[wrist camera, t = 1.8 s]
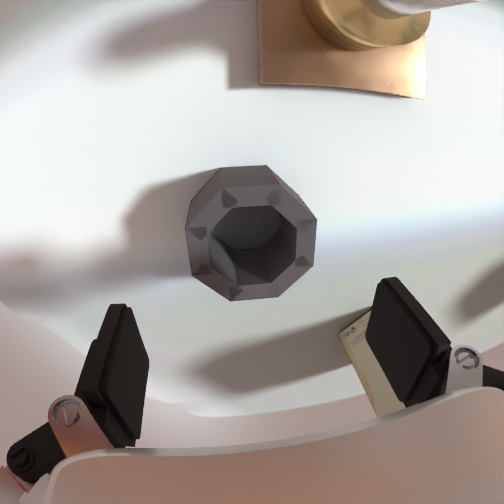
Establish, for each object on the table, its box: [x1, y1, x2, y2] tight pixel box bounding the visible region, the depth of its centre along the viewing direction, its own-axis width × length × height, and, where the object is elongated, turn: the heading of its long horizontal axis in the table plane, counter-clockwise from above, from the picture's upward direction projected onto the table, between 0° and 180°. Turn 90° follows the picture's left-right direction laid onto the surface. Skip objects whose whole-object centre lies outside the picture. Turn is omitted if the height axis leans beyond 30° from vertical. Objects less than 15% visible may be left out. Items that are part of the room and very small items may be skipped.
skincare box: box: [338, 310, 418, 418], centre depth 20 cm, size 6×4×12 cm
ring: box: [185, 165, 317, 301], centre depth 17 cm, size 6×6×4 cm
